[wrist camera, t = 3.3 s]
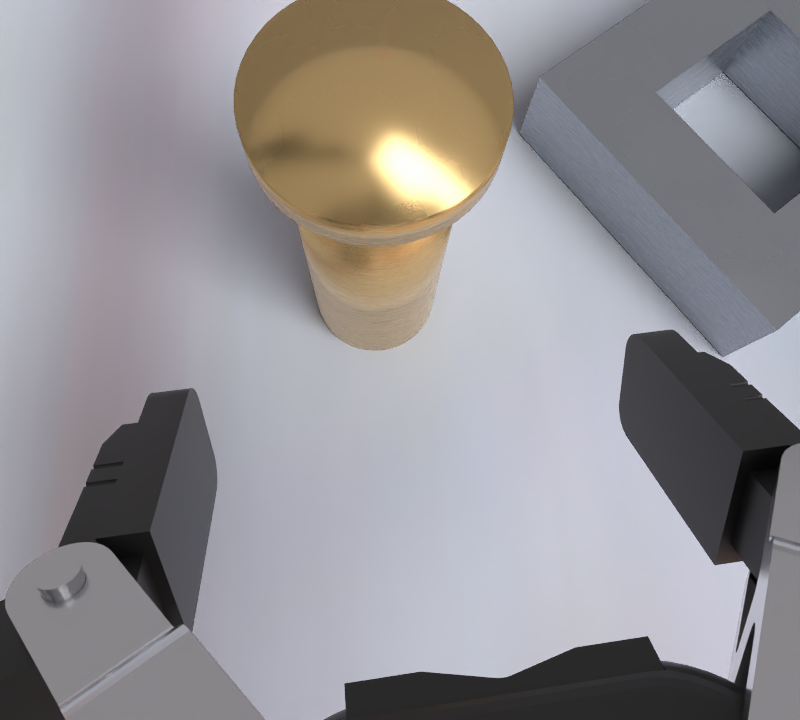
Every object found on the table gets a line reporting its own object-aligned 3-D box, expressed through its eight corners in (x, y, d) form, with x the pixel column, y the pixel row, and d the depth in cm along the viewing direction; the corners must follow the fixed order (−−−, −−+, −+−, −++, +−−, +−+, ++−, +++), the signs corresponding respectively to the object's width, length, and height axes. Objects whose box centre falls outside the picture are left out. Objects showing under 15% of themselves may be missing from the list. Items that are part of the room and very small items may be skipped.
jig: (519, 133, 27) (539, 76, 24) (723, -10, 29) (768, -80, 26) (723, 357, 25) (776, 330, 22) (926, 186, 27) (1004, 137, 24)
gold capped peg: (268, 281, 25) (178, 71, 14) (388, 198, 26) (399, -62, 15) (360, 399, 24) (346, 280, 13) (481, 308, 25) (570, 122, 14)
